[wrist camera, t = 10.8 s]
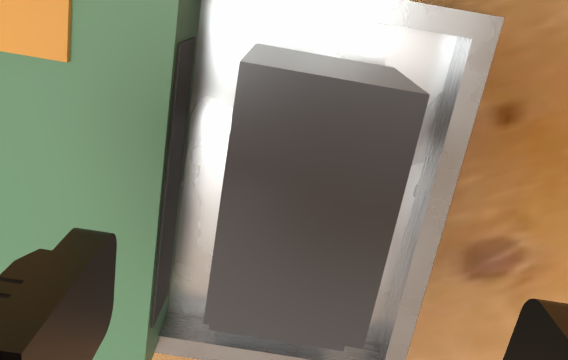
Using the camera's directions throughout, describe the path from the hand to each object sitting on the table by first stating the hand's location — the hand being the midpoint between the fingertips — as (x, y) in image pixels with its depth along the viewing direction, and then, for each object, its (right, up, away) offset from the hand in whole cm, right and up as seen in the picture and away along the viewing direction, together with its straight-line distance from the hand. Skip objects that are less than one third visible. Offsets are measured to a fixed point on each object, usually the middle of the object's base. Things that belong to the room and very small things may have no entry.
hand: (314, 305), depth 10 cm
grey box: (0, +2, +10) cm, 10 cm away
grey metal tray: (0, +2, +11) cm, 11 cm away
